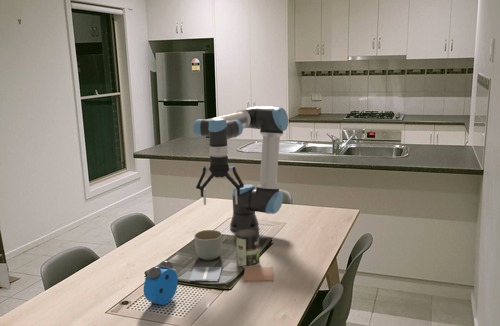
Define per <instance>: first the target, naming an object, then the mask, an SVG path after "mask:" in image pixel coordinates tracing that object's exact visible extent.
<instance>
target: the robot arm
mask: <svg viewBox="0 0 500 326" xmlns="http://www.w3.org/2000/svg"><path fill="white" fill-rule="evenodd" d="M288 127H289V115H288V113H287V110H285V108H284V107H281V106H279V107H278V106H260V105H259V106H257V105H256V106H251V107H248V108H242V109H239V110H237V111H236V112H233V113H230V114H225V115H221V116H216V117H212V118H211V117H210V118H207V119H205V118H201V119H196V120H195V121H194V122H193V125H192V128H193V133H194V134H195V135H196V136H199V137H208V139H209V163H210V167H207V166H203V168H202V173H201V175H200V178H199V180H198V182H197V185H196V187H195V188H196V189H197V190H200V198H203V205H204V206H206V205H207V195H206V193H207V191H206V187H207V185H208V184H209V183H210V182H211V181H212V179H213V178H214V177H215V178H226V179H227V180H228V181H229V182H230V183H231V184H232V185H233V186H234V187H233V188H232V195H231V196H232V217H231V221H230V224H229V225H230V227H229V228H230V230H231V231H232V232H235V233H236V232H237V231H238V230H241V229H255V230H257V231H258V229H259V227H260V226H259V224H260V223H259V221H258V218H257V215H256V212H258V213H264V214H267V215H268V214H269V215H271V214H272V215H275V214H277V213H278V212H279V211H280V209H281V208H282V205H283V202H284V194H283V193H282V192H281V191H280V187H279V185H278V184H277V182H278V167H279V153H280V152H279V151H280V138H281V136H283V134H284V131H286V130H288ZM244 129H253V130H259V133H260V134H261V136H262V145H261V158H260V159H261V161H260V173H259V176H260V177H259V183H258V184H257V185H256V187H255V184H250V183H249V184H244V182H243V181H242V178H241V177H240V175H239V173H238V171H237V168H236V165H232V166H229V160H228V159H229V156H228V151H229V150H228V148H229V147H228V140H230V139H233V138H237V137H240V136H241V135H242V134H243V130H244ZM208 171H209V172H210V173H211V174H210V175H209V176H208V177H207V179H206V180H205V181H204V182H203V180H204V177H205V176H206V173H208ZM229 171H230V172H232V173H233V175H234V177H235V179H236V180H237V181H236V180H235V179H234V178H233V177H232V175H230V174H229ZM202 182H203V183H202ZM237 182H238V183H237ZM201 184H202V185H201Z"/></svg>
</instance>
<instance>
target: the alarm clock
mask: <svg viewBox="0 0 500 326" xmlns="http://www.w3.org/2000/svg"><path fill="white" fill-rule="evenodd" d="M173 267H174V266H173V263H172V262H171V261H169V260H163V261H161V262H160V263H159V265H156V266H153V267H151V268H149V270H148V271H147V275H146V277H145V280H144V283H143V295H144V298H145V300H146V301H148V302H151V305H154V304H158V305H161V306H162V305H164V306H165V305H168V304H169V303H170V302H171V301H172V299H173V298H174V296H175V295H176V292H177V289H178V285H179V284H178V282H179V279H178V275H177V272H176V271H175V270H174V269H173Z"/></svg>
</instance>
